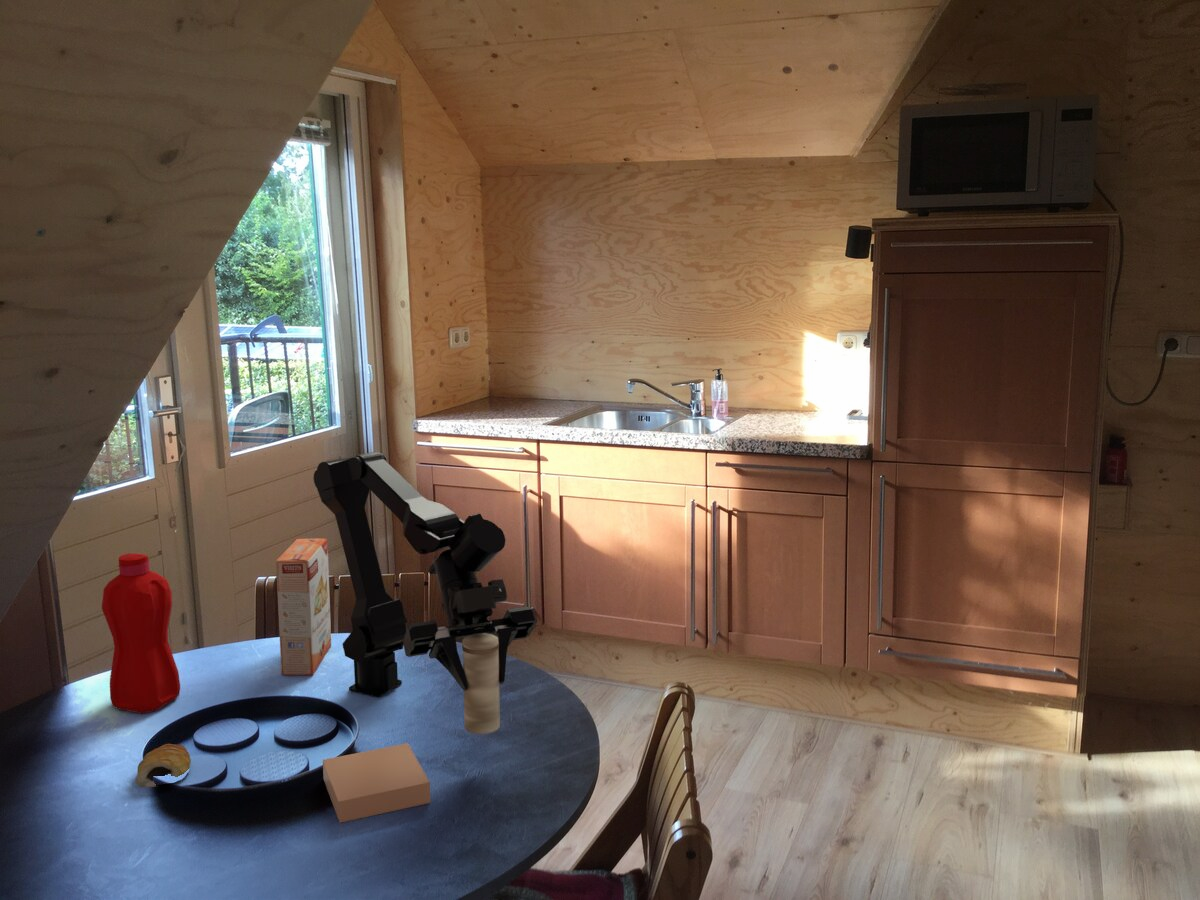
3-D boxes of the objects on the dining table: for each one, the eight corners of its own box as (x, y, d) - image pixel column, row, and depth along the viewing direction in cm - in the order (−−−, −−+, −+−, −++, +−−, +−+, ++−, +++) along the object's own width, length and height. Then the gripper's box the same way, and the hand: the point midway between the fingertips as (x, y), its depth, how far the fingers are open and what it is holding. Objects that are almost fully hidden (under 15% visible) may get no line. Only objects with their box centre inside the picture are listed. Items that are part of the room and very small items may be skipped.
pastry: (149, 758, 152) (147, 734, 151) (198, 754, 153) (196, 730, 152) (134, 791, 143) (132, 765, 142) (186, 786, 144) (184, 761, 143)
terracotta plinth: (339, 822, 134) (338, 801, 134) (323, 779, 145) (322, 759, 145) (430, 802, 139) (429, 782, 139) (408, 762, 150) (407, 743, 149)
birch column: (457, 729, 147) (455, 643, 145) (476, 715, 152) (474, 630, 149) (488, 737, 145) (486, 649, 143) (506, 722, 150) (505, 636, 147)
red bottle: (197, 690, 174) (185, 546, 169) (148, 718, 164) (134, 566, 159) (152, 682, 177) (140, 541, 172) (102, 709, 167) (87, 559, 162)
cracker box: (315, 676, 179) (309, 560, 175) (280, 676, 179) (272, 560, 175) (334, 645, 193) (328, 536, 189) (301, 645, 193) (295, 536, 189)
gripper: (405, 569, 144) (428, 674, 136) (532, 553, 151) (561, 652, 144) (394, 605, 152) (415, 706, 145) (514, 588, 160) (541, 683, 152)
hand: (484, 686), depth 146 cm, fingers closed on birch column, 5 cm apart
